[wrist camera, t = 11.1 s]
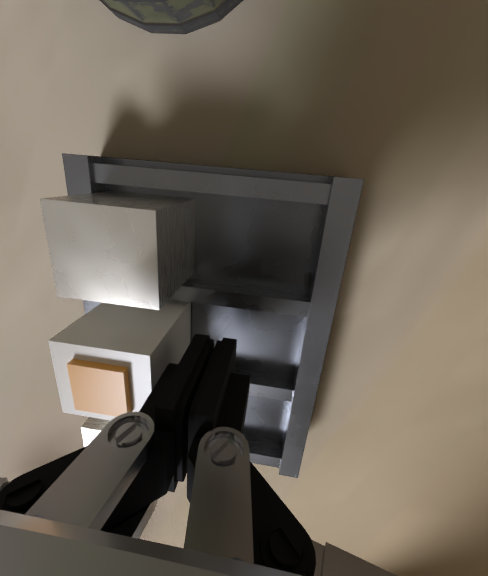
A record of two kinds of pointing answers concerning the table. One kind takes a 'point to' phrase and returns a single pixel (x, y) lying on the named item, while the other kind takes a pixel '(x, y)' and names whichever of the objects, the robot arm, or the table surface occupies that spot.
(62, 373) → the block
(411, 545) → the table surface
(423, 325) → the table surface
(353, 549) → the table surface
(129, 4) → the thermos
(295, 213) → the panel
